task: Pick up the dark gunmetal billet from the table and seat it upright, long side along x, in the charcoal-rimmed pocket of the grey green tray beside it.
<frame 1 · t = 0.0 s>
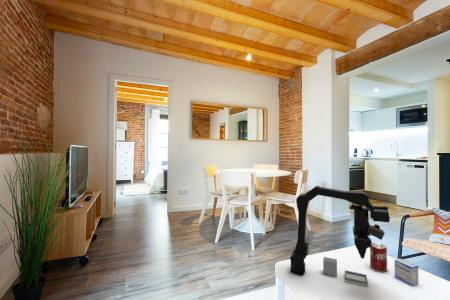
hand: (361, 253, 102), 15 cm above the table, tool pointing down, fingers open, 9 cm apart
soda can: (378, 269, 116), on the table
grey green tray: (355, 280, 106), on the table
medicine box: (406, 281, 106), on the table
billet: (330, 273, 112), on the table
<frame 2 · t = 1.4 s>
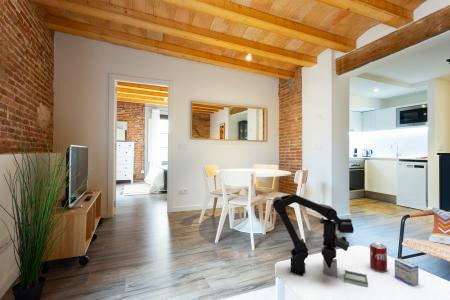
hand: (329, 263, 112), 5 cm above the table, tool pointing down, fingers open, 9 cm apart
nothing on the table moved.
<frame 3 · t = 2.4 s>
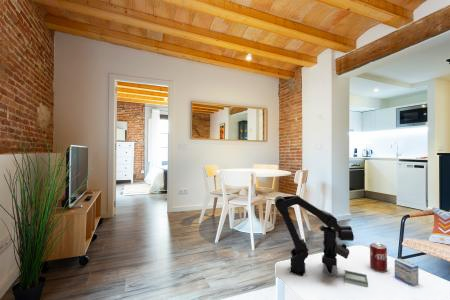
hand: (330, 270, 112), 2 cm above the table, tool pointing down, fingers closed on billet, 4 cm apart
billet: (330, 273, 112), on the table, touching gripper
everything else where it was.
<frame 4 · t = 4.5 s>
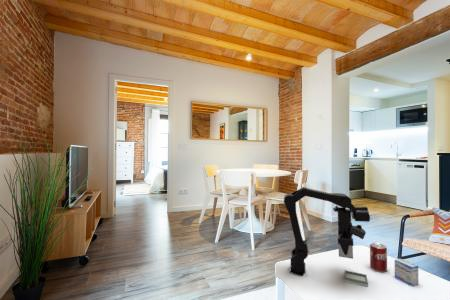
hand: (345, 252, 109), 12 cm above the table, tool pointing down, fingers closed on billet, 4 cm apart
billet: (345, 255, 109), point 11 cm above the table, touching gripper
everything else where it was.
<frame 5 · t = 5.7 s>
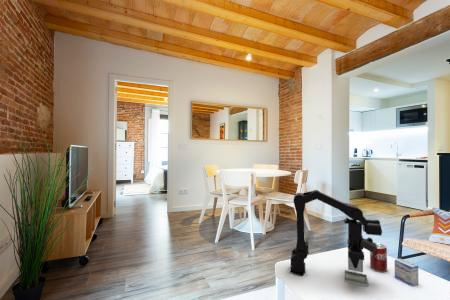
hand: (355, 265, 107), 7 cm above the table, tool pointing down, fingers closed on billet, 4 cm apart
billet: (355, 269, 107), point 5 cm above the table, touching gripper
everything else where it was.
when the fingers open (3 cm above the table, at t = 6.7 s): billet stays where it is, resting on grey green tray.
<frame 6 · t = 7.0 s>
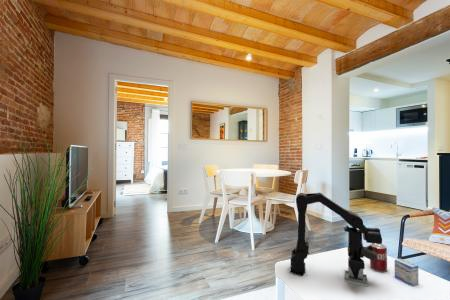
hand: (355, 274, 107), 3 cm above the table, tool pointing down, fingers open, 7 cm apart
billet: (355, 278, 106), point 1 cm above the table, touching grey green tray
everything else where it was.
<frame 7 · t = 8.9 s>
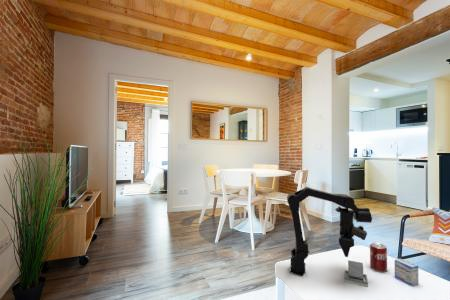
hand: (346, 252, 110), 11 cm above the table, tool pointing down, fingers open, 9 cm apart
nothing on the table moved.
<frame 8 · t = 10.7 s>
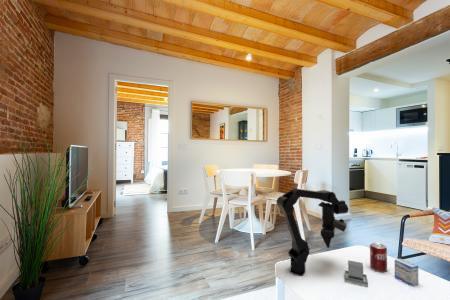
hand: (328, 244, 119), 12 cm above the table, tool pointing down, fingers open, 9 cm apart
nothing on the table moved.
at the end: billet 0.0 cm off-centre on the grey green tray, point 1.0 cm above the grey green tray's base; billet tilted 0°; the gripper is holding nothing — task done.
